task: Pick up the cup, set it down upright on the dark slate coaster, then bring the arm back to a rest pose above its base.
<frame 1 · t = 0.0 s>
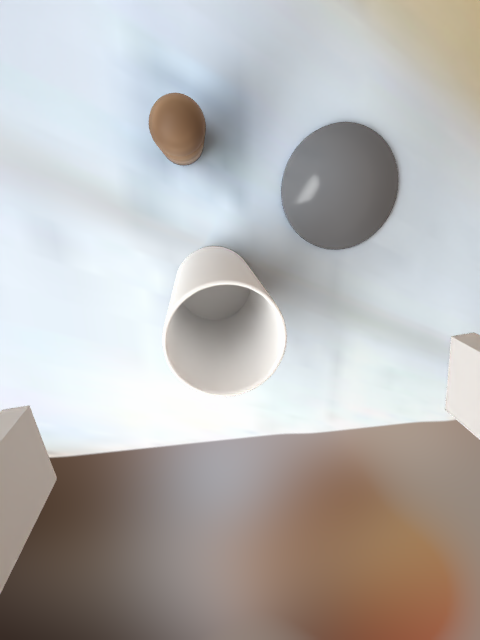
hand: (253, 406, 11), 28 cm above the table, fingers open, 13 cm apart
pepper mill: (182, 142, 34), on the table
cup: (214, 284, 39), on the table
coaster: (338, 189, 37), on the table
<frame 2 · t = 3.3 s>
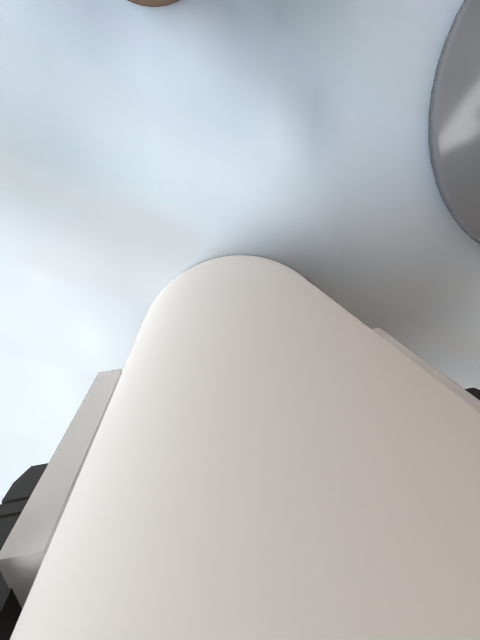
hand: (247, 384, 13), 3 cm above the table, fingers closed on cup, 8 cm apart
cup: (238, 349, 15), on the table, touching gripper
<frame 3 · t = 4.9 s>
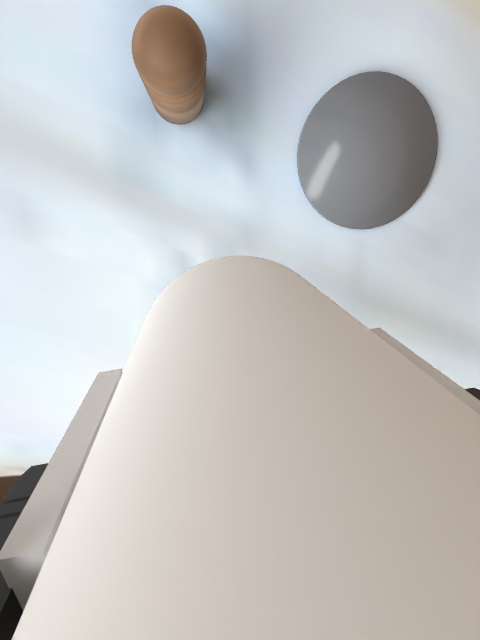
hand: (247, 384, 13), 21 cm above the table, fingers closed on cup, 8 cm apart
pepper mill: (177, 95, 28), on the table
cup: (238, 350, 15), point 18 cm above the table, touching gripper
coaster: (365, 156, 31), on the table
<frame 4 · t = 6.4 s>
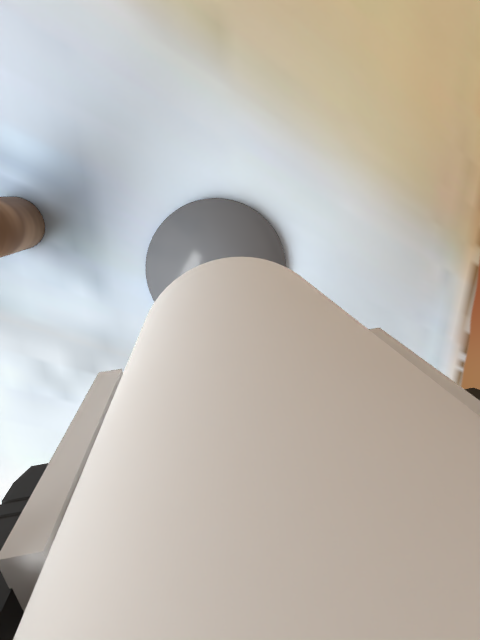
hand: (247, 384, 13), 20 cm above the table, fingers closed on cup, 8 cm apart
pepper mill: (17, 223, 28), on the table
cup: (238, 351, 15), point 17 cm above the table, touching gripper
coaster: (216, 270, 31), on the table
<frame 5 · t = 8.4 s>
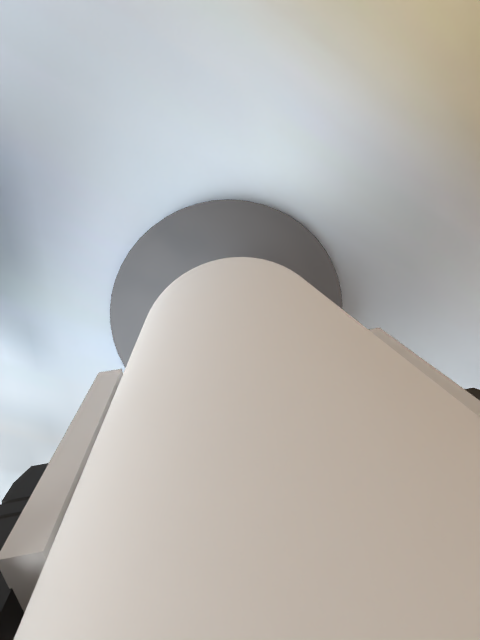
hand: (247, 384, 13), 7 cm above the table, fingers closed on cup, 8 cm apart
cup: (238, 351, 15), point 4 cm above the table, touching gripper
coaster: (229, 318, 19), on the table
when the fingers open (5 cm above the table, at t = 9.9 s): cup drops 1 cm, resting on coaster.
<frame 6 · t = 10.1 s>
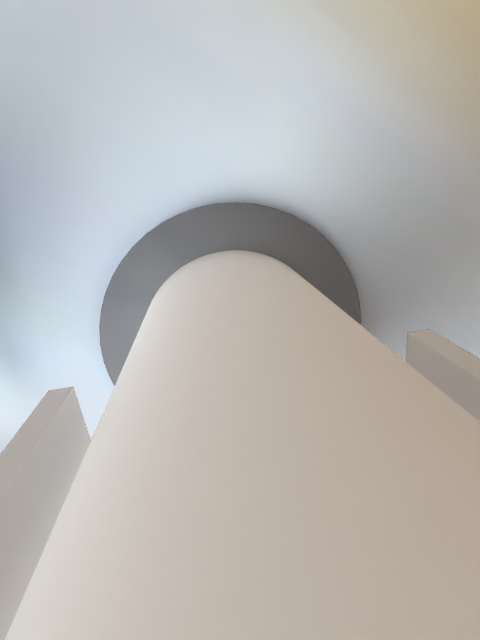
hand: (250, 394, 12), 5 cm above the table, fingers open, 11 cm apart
cup: (234, 338, 17), resting on coaster
coaster: (234, 334, 17), on the table
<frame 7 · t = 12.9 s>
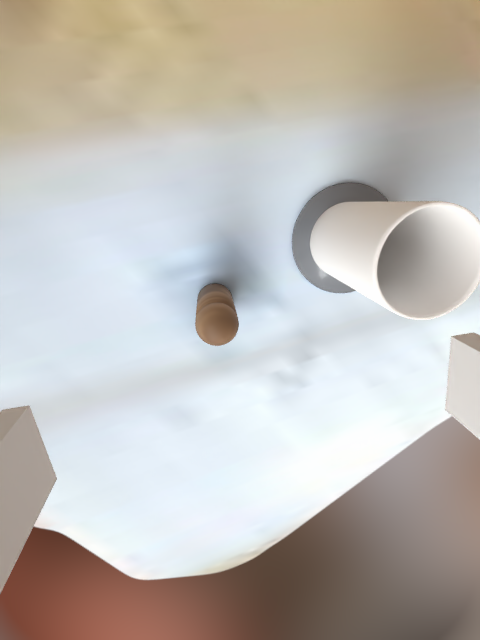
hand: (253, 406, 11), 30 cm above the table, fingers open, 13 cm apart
pepper mill: (214, 300, 41), on the table
cup: (345, 240, 40), resting on coaster
coaster: (344, 239, 40), on the table
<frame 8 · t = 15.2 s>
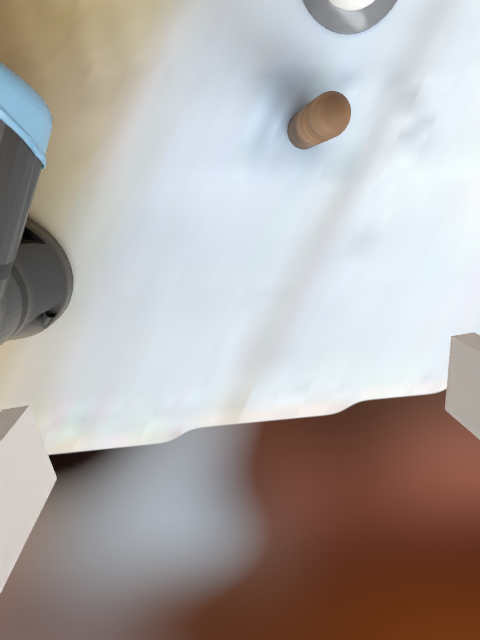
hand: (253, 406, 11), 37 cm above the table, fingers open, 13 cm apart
pepper mill: (304, 130, 43), on the table
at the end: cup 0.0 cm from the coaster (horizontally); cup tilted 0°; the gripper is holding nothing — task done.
